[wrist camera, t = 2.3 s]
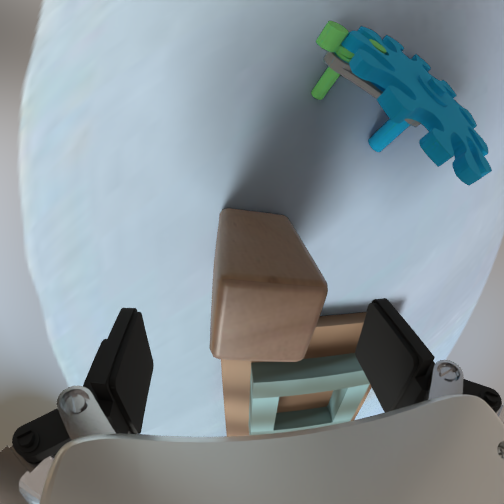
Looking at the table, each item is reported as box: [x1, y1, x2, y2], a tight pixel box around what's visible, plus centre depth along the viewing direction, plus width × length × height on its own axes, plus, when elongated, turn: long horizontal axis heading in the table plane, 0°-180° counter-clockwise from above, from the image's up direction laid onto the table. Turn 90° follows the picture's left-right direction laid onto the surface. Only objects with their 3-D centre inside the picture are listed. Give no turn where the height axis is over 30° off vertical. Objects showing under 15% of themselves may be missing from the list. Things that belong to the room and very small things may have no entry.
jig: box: [221, 312, 371, 437], centre depth 22 cm, size 16×14×3 cm
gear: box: [311, 21, 492, 185], centre depth 12 cm, size 11×6×10 cm
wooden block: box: [210, 208, 328, 362], centre depth 14 cm, size 4×4×8 cm
